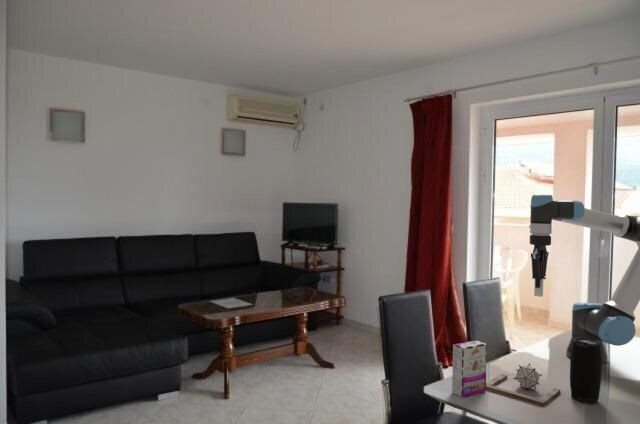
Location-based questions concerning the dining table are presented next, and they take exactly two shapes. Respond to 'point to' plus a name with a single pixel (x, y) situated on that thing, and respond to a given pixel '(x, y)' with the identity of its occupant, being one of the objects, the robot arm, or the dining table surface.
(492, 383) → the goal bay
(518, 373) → the game die
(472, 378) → the candy bar box
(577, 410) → the dining table surface
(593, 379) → the portable speaker
